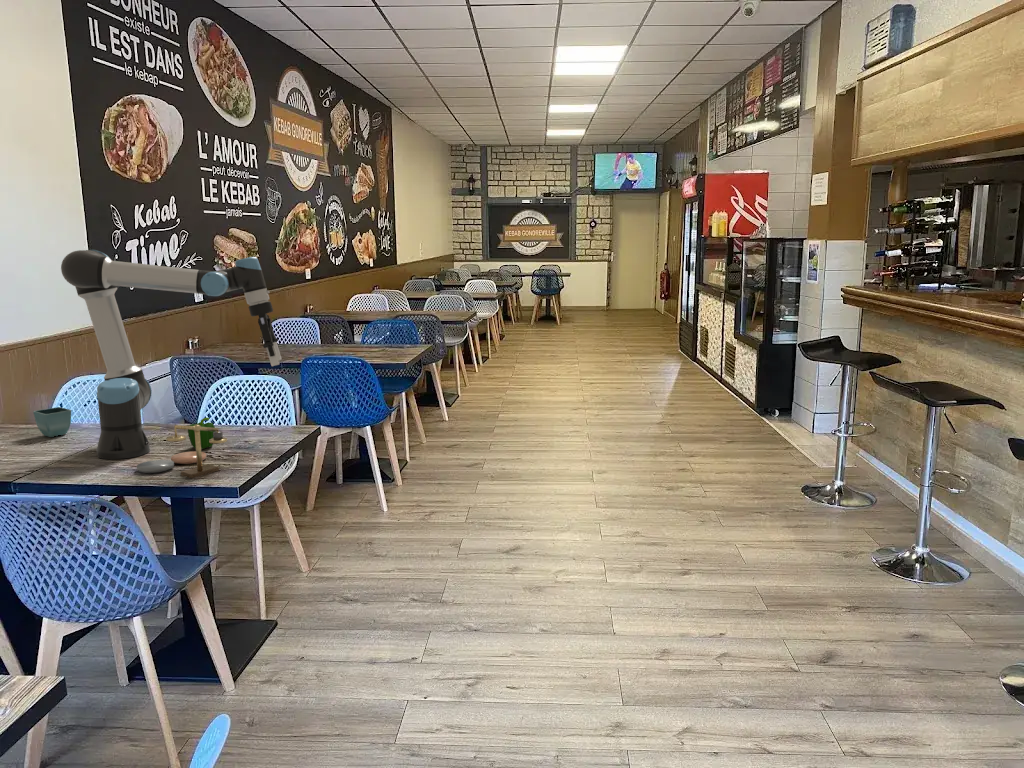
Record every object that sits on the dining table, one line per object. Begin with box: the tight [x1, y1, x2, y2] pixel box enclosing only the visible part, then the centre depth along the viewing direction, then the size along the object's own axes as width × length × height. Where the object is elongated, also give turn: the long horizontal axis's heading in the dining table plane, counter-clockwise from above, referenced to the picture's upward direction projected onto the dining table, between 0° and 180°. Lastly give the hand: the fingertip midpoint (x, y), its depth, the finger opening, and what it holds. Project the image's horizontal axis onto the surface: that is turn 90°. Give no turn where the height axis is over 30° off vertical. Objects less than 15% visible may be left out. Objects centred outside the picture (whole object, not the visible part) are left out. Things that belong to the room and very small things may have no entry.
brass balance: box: [166, 424, 228, 479], centre depth 217 cm, size 5×18×16 cm, turn 148°
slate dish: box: [136, 459, 175, 474], centre depth 221 cm, size 10×10×2 cm
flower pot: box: [33, 406, 72, 438], centre depth 259 cm, size 9×9×9 cm
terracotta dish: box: [170, 450, 207, 465], centre depth 230 cm, size 10×10×2 cm
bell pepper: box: [187, 417, 216, 450], centre depth 245 cm, size 8×8×10 cm
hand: (276, 362), depth 257 cm, fingers open, 13 cm apart
